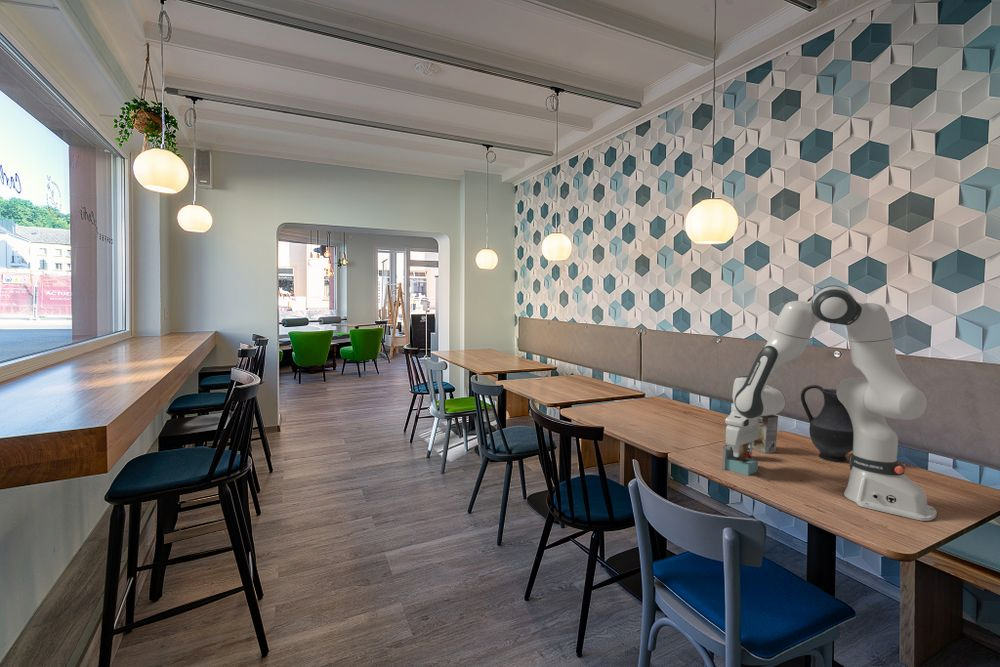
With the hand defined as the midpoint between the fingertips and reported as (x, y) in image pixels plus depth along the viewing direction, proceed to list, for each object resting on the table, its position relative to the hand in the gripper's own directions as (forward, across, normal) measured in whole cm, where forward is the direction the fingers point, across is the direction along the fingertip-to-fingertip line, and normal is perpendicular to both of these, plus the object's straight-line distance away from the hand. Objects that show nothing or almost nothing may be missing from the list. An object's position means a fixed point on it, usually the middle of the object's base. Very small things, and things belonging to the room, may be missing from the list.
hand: (742, 454), depth 176 cm
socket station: (+6, 0, 0) cm, 6 cm away
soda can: (+6, -16, -7) cm, 19 cm away
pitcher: (+6, -46, +14) cm, 48 cm away
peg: (+3, +1, 0) cm, 3 cm away
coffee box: (+6, -35, -7) cm, 36 cm away
